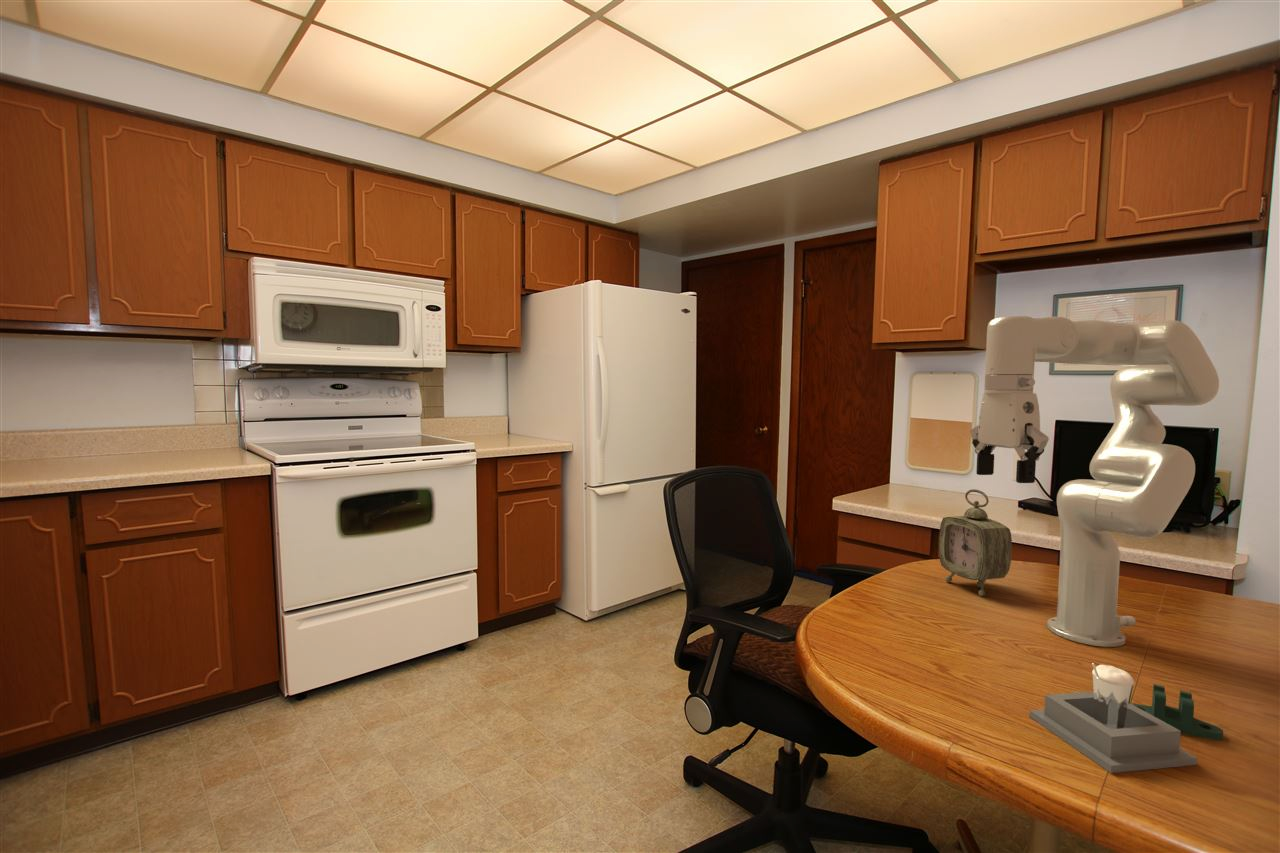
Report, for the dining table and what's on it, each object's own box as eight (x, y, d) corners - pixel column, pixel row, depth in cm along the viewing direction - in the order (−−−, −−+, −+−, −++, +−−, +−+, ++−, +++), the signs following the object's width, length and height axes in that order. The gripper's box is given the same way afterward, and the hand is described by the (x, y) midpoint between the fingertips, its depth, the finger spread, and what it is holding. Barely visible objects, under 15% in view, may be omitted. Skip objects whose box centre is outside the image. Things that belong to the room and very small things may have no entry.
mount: (1220, 732, 84) (1222, 699, 84) (1225, 746, 81) (1227, 712, 80) (1122, 706, 91) (1124, 675, 91) (1123, 718, 88) (1125, 686, 87)
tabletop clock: (937, 580, 151) (941, 485, 149) (966, 577, 153) (970, 484, 151) (982, 600, 137) (987, 495, 135) (1013, 597, 139) (1018, 494, 137)
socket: (1104, 710, 89) (1106, 685, 89) (1196, 764, 76) (1198, 735, 76) (1029, 716, 87) (1031, 691, 87) (1110, 773, 75) (1112, 743, 74)
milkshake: (1075, 722, 84) (1079, 655, 84) (1110, 721, 84) (1114, 655, 84) (1102, 741, 80) (1106, 671, 79) (1139, 740, 80) (1143, 670, 79)
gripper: (1068, 385, 97) (1062, 486, 98) (992, 385, 114) (988, 471, 115) (1028, 384, 96) (1023, 486, 97) (957, 385, 113) (953, 472, 114)
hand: (1004, 478), depth 106 cm, fingers open, 9 cm apart
